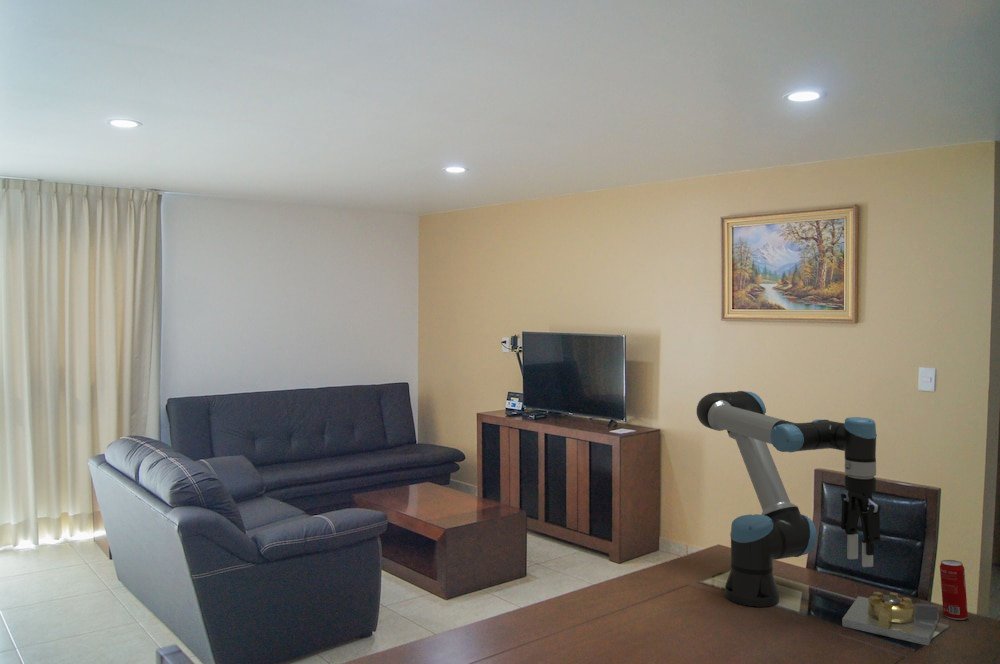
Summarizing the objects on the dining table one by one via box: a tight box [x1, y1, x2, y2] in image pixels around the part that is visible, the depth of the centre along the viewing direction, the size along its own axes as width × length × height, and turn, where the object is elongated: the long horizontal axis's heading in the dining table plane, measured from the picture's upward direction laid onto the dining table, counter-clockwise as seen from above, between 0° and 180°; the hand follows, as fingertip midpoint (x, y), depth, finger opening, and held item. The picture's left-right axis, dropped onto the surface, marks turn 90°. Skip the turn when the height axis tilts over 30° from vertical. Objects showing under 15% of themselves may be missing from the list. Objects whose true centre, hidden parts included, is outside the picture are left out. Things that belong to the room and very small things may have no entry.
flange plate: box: [841, 595, 940, 647], centre depth 196 cm, size 20×20×6 cm
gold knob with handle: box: [867, 591, 915, 629], centre depth 194 cm, size 16×11×4 cm, turn 143°
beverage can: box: [939, 559, 969, 621], centre depth 201 cm, size 6×6×15 cm
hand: (860, 562), depth 195 cm, fingers open, 6 cm apart
